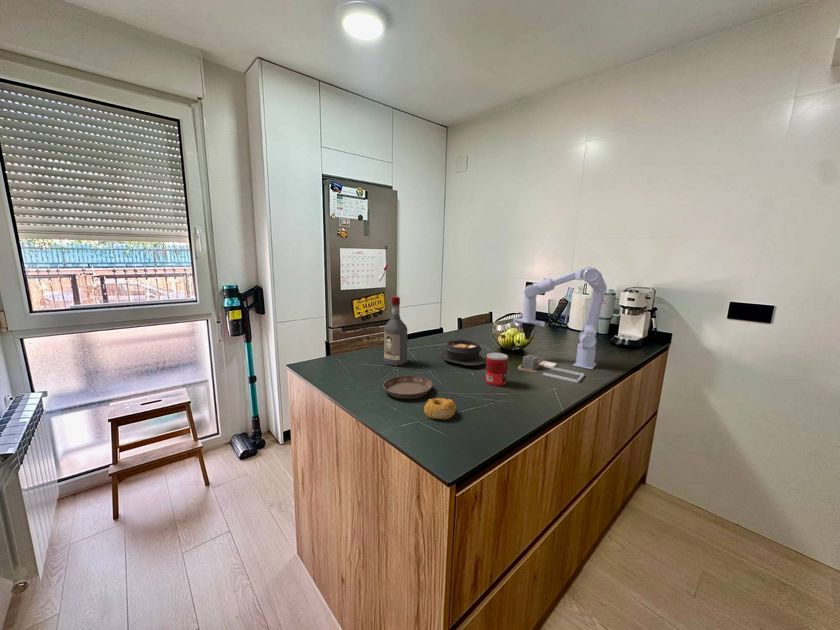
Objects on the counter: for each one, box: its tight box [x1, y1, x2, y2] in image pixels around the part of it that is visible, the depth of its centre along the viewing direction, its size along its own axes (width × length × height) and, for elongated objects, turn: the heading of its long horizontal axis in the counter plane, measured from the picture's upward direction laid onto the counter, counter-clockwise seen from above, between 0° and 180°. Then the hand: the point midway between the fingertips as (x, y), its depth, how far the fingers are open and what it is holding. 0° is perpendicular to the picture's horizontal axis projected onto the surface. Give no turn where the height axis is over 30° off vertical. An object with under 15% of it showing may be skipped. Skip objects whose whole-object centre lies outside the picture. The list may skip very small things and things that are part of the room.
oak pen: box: [517, 363, 545, 374], centre depth 145 cm, size 10×8×1 cm
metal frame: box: [542, 366, 585, 383], centre depth 137 cm, size 10×14×1 cm
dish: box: [539, 360, 558, 369], centre depth 149 cm, size 6×6×1 cm
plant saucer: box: [382, 375, 433, 400], centre depth 119 cm, size 18×18×3 cm
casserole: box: [439, 339, 486, 367], centre depth 154 cm, size 25×19×8 cm
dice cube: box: [521, 354, 540, 371], centre depth 146 cm, size 5×5×5 cm
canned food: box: [485, 352, 509, 387], centre depth 127 cm, size 8×8×11 cm
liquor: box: [383, 296, 408, 367], centre depth 148 cm, size 9×9×30 cm
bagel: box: [423, 397, 457, 420], centre depth 103 cm, size 10×11×5 cm
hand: (527, 339), depth 156 cm, fingers closed
